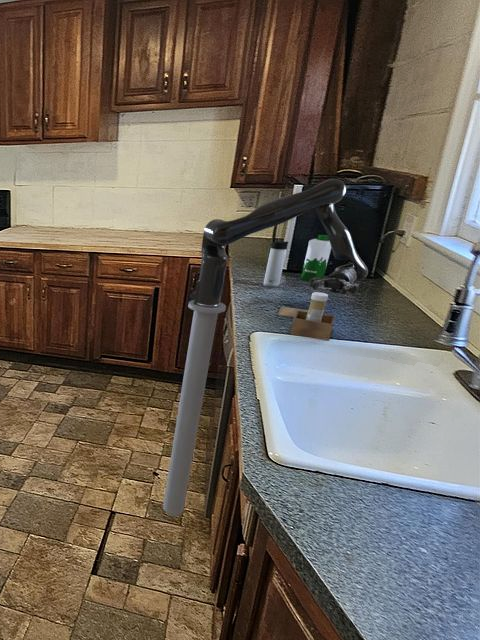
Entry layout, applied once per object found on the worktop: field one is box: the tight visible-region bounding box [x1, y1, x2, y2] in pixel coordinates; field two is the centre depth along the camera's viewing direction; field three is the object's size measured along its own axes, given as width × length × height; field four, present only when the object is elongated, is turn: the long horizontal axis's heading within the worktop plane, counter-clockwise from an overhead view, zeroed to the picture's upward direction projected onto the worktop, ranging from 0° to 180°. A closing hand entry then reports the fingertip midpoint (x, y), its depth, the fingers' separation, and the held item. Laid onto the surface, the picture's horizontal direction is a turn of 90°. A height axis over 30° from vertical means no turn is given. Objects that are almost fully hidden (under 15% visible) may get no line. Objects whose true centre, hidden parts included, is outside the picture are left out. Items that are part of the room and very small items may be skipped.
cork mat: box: [276, 306, 309, 319], centre depth 195 cm, size 12×12×1 cm
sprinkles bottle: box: [306, 291, 329, 322], centre depth 174 cm, size 5×5×13 cm
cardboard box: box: [289, 310, 336, 342], centre depth 175 cm, size 11×11×6 cm
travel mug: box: [262, 241, 289, 289], centre depth 230 cm, size 6×7×20 cm
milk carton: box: [300, 234, 332, 282], centre depth 242 cm, size 9×9×20 cm
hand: (328, 288), depth 178 cm, fingers open, 8 cm apart
